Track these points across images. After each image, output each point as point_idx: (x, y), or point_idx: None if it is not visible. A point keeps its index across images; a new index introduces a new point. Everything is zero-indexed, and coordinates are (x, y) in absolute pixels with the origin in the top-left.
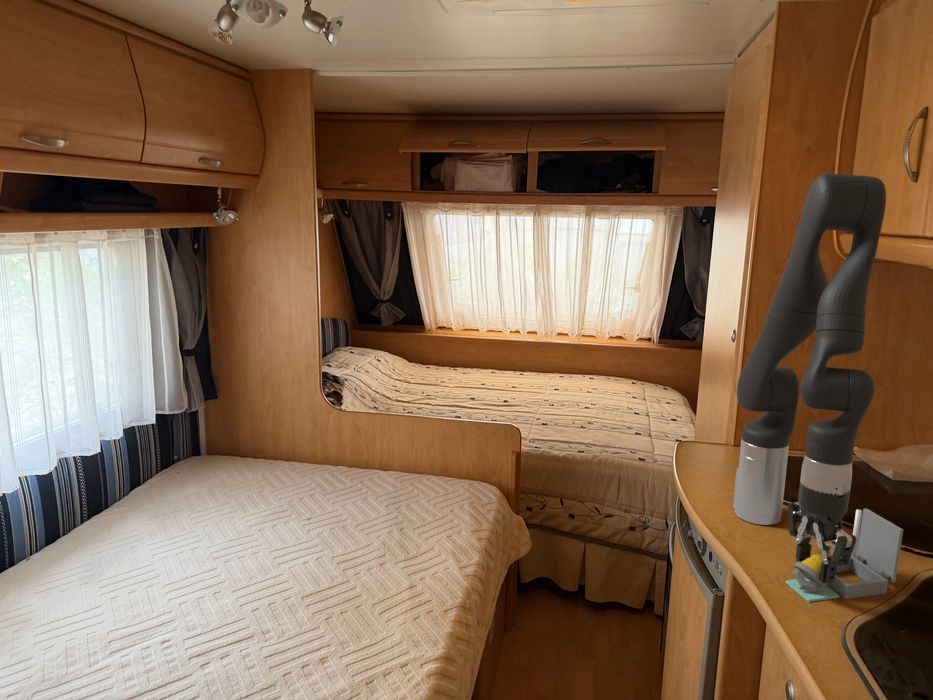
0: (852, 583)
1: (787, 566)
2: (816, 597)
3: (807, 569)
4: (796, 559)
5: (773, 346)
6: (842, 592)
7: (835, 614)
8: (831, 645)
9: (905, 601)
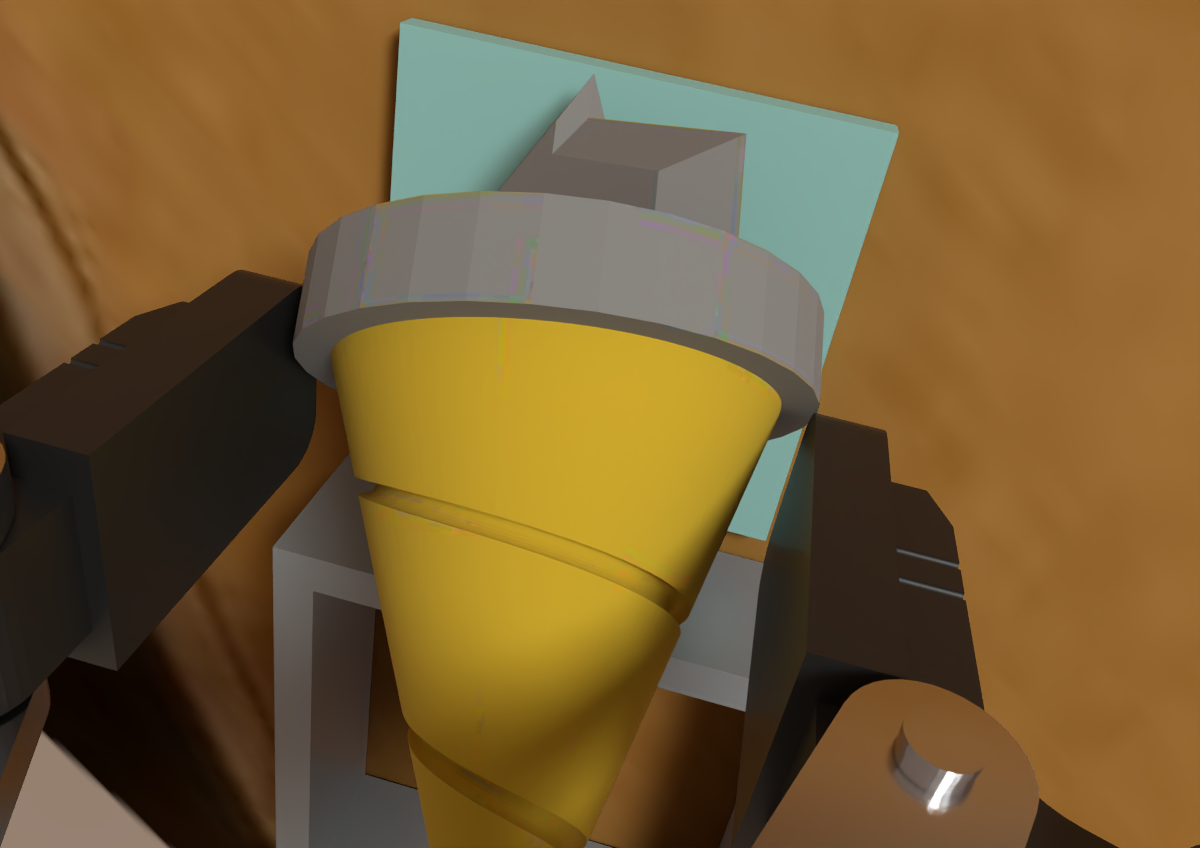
0: (308, 636)
1: (1150, 488)
2: (414, 169)
3: (403, 235)
4: (880, 447)
5: None
6: None
7: (131, 109)
8: None
9: (220, 791)
